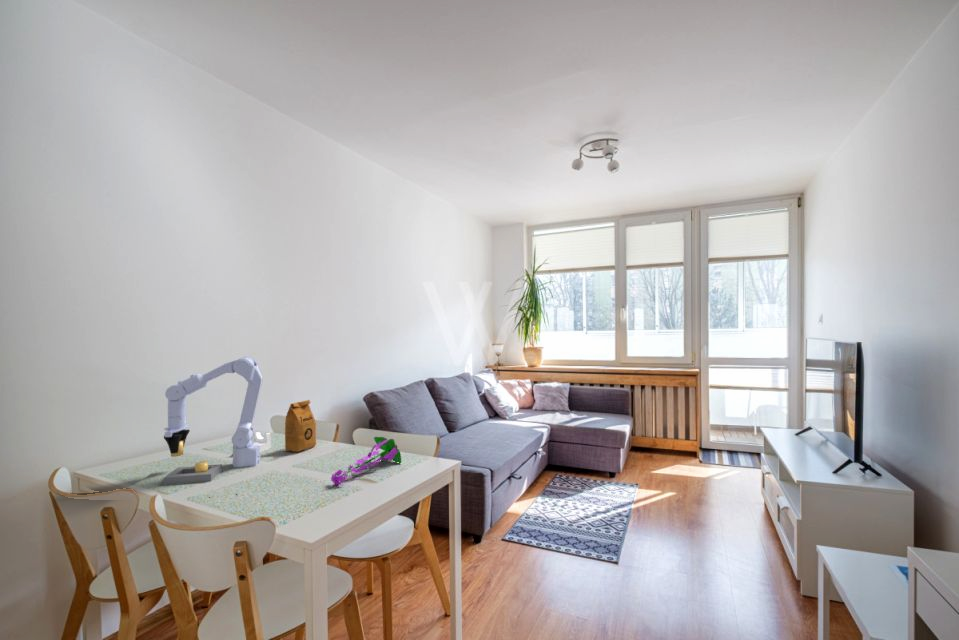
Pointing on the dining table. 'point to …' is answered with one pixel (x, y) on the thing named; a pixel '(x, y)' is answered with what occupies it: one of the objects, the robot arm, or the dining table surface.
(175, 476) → the grey tray
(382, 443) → the purple green flared piece
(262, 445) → the bracket
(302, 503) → the dining table surface
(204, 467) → the yellow potato
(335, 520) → the dining table surface
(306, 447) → the coffee package
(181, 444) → the yellow oval lump
